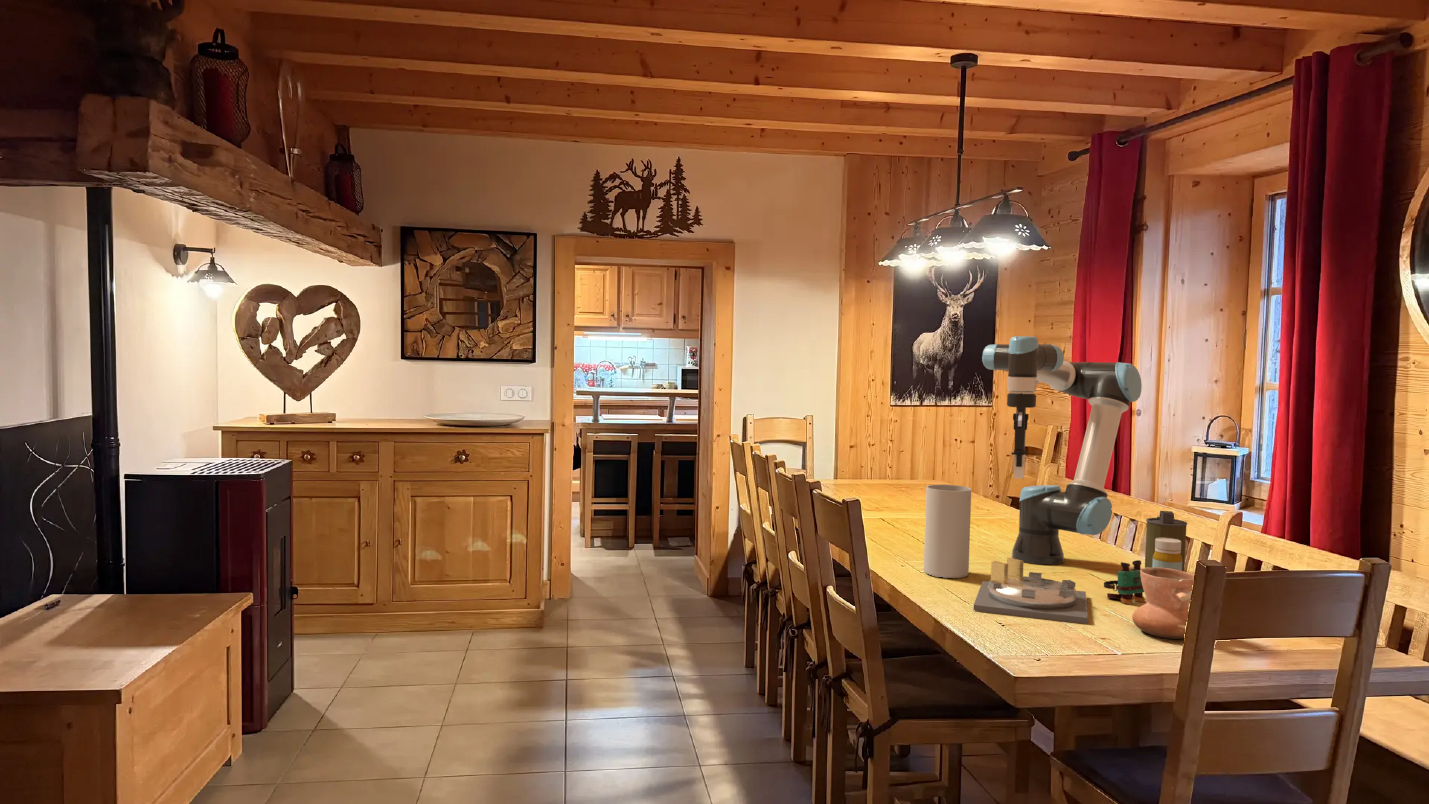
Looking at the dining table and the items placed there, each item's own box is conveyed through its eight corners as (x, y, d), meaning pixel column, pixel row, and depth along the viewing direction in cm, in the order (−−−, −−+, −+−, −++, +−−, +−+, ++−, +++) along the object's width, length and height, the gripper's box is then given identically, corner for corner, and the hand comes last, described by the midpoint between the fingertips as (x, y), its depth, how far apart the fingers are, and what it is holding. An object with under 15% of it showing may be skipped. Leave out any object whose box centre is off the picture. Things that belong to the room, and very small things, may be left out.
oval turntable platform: (971, 594, 231) (972, 563, 231) (1021, 583, 244) (1022, 554, 243) (1044, 614, 214) (1045, 581, 214) (1094, 601, 226) (1095, 570, 226)
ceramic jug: (1217, 647, 197) (1220, 582, 196) (1148, 643, 198) (1151, 579, 197) (1180, 624, 215) (1183, 565, 214) (1118, 621, 216) (1121, 562, 215)
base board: (982, 586, 246) (982, 578, 246) (1085, 597, 236) (1085, 589, 236) (973, 610, 222) (973, 602, 221) (1087, 624, 212) (1087, 615, 212)
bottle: (1178, 593, 242) (1180, 538, 241) (1182, 600, 235) (1185, 543, 234) (1149, 591, 244) (1152, 536, 243) (1153, 597, 237) (1155, 541, 236)
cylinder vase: (960, 581, 250) (963, 492, 249) (917, 575, 257) (920, 488, 256) (973, 572, 261) (976, 487, 260) (931, 566, 268) (934, 483, 266)
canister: (1189, 587, 248) (1192, 515, 247) (1148, 585, 251) (1152, 513, 249) (1177, 578, 259) (1180, 509, 258) (1138, 575, 261) (1141, 507, 260)
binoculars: (1117, 556, 241) (1150, 560, 233) (1119, 596, 241) (1152, 602, 232) (1094, 559, 237) (1127, 563, 228) (1096, 600, 237) (1129, 605, 228)
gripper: (1035, 394, 239) (1032, 482, 240) (1036, 392, 251) (1033, 476, 253) (1005, 393, 242) (1002, 480, 243) (1008, 391, 254) (1005, 474, 255)
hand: (1018, 478), depth 248 cm, fingers closed
